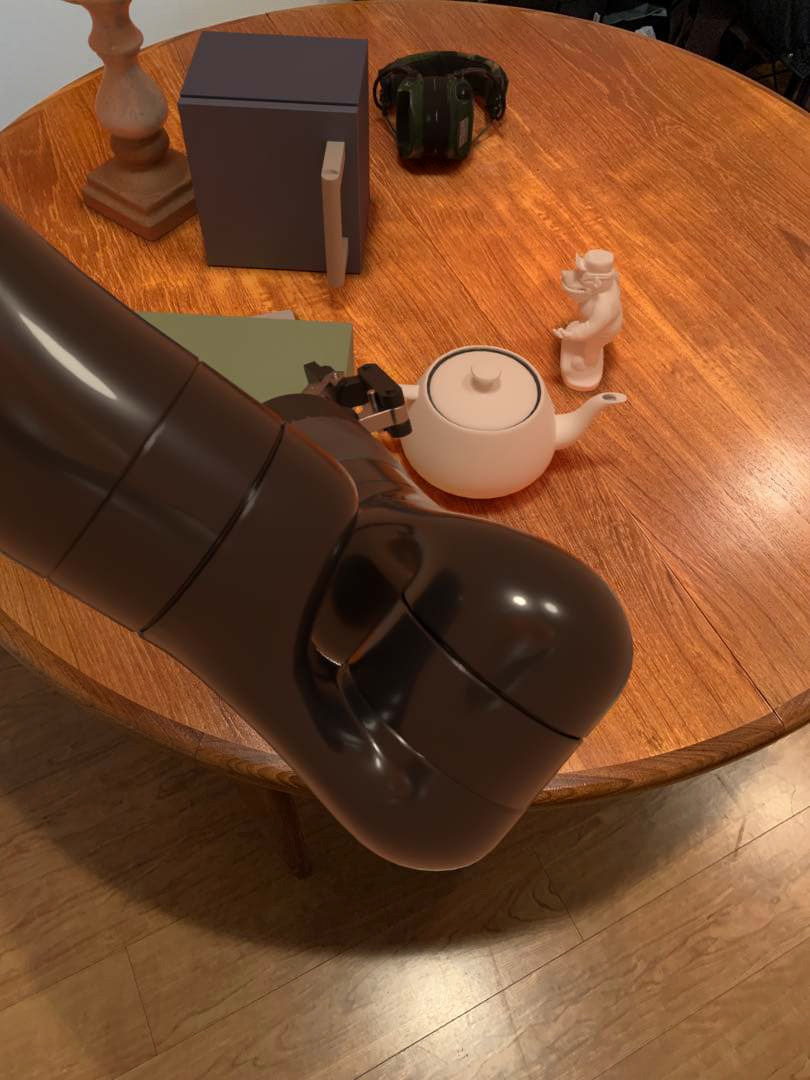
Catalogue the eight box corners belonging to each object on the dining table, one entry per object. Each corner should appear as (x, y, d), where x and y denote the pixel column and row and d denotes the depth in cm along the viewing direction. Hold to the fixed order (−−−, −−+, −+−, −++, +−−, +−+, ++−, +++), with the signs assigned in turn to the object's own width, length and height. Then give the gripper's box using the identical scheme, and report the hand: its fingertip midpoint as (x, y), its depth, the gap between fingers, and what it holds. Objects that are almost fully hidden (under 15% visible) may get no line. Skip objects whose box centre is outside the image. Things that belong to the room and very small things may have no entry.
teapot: (353, 506, 79) (349, 422, 71) (369, 389, 87) (367, 300, 78) (610, 525, 79) (639, 443, 70) (602, 406, 87) (628, 319, 78)
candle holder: (152, 243, 98) (94, 10, 79) (81, 203, 102) (9, -30, 82) (223, 193, 103) (186, -37, 84) (154, 157, 107) (102, -72, 87)
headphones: (531, 133, 101) (512, 65, 115) (449, 40, 94) (439, -22, 108) (441, 215, 108) (433, 140, 122) (358, 133, 101) (360, 64, 114)
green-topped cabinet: (346, 584, 75) (337, 439, 60) (150, 572, 75) (93, 425, 60) (357, 477, 81) (353, 322, 66) (176, 467, 81) (131, 310, 67)
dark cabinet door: (355, 311, 93) (351, 151, 78) (197, 302, 93) (163, 141, 78) (361, 267, 97) (358, 106, 82) (209, 258, 97) (178, 96, 82)
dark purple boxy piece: (361, 266, 97) (358, 103, 82) (210, 258, 97) (179, 93, 82) (369, 201, 103) (368, 39, 88) (227, 194, 103) (201, 30, 89)
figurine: (545, 321, 93) (565, 219, 83) (610, 328, 93) (638, 227, 83) (541, 387, 88) (562, 287, 78) (610, 394, 87) (640, 295, 78)
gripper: (443, 369, 42) (338, 304, 55) (136, 481, 39) (106, 383, 52) (475, 512, 45) (370, 417, 59) (197, 624, 42) (155, 497, 56)
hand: (246, 401), depth 56 cm, fingers open, 8 cm apart
